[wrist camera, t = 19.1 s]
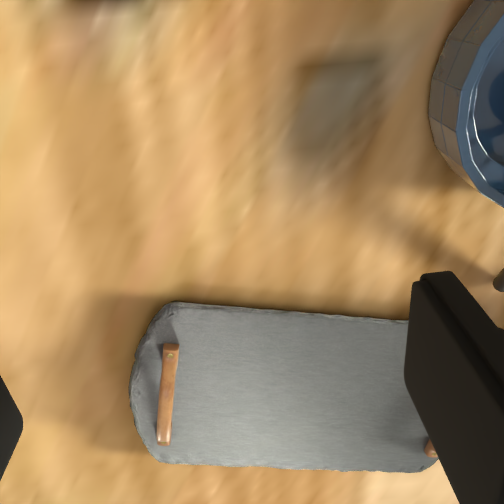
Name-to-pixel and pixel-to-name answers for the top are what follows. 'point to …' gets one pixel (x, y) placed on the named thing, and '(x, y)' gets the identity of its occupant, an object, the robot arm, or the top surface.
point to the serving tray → (276, 391)
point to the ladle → (499, 281)
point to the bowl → (472, 99)
